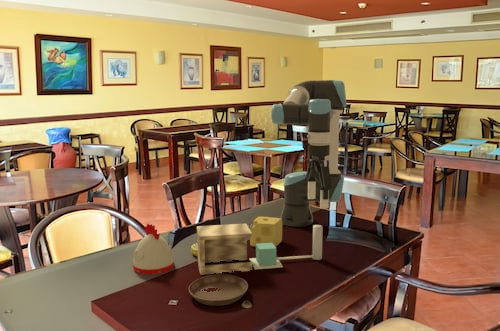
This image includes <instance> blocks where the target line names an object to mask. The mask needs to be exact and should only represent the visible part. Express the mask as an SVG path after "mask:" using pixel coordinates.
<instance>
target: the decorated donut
mask: <svg viewBox="0 0 500 331" xmlns="http://www.w3.org/2000/svg"><path fill="white" fill-rule="evenodd" d="M190 252H191V253H192V255H193V256H195V257H197V258H198V253H197V242H196V243H193V244H192V245H191V247H190Z"/></svg>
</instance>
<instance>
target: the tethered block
mask: <svg viewBox="0 0 500 331" xmlns="http://www.w3.org/2000/svg"><path fill="white" fill-rule="evenodd" d="M323 229H324V228H323V225H321V224H313V225H312V254H311V255H310V254H309V255H308V254H307V255H297V256H295V255H293V256H284V257H281V256H280V257H277V246H276V247H275V246H274V244H273V243H260V244H256V246H255V258H256V261H257V262H258V264H259V266H266V265H276V260H279V261H282V260H294V259H295V260H297V259H308V258H311V259H312V260H315V261H321V260H322V259H323ZM276 257H277V258H276Z"/></svg>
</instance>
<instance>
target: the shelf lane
mask: <svg viewBox="0 0 500 331" xmlns="http://www.w3.org/2000/svg"><path fill="white" fill-rule="evenodd" d="M210 225H211V226H210ZM210 225H199V226H196V241H197V242H196V243H197V253H198V257H197V265H198V270H199V274H200V275H201V276H202V275H203V276H204V275H215V274H214V273H216V274H223V273H222V272H229V273H235V272H234V271H241V272H251V271H250V270H252V271H253V265H252V262H251V261H247V260H248V240H247V239H248V238H251V237H252V232H251V228H249V226H248V224H247V223H231V224H230V223H229V224H215V225H214V224H210ZM232 260H239V261H242V262H233V261H232ZM220 261H226V262H233V263H221V262H220ZM243 261H245V262H243ZM211 262H213V263H217V264H210V263H211ZM218 263H219V264H218ZM220 263H221V264H220ZM232 271H233V272H232Z"/></svg>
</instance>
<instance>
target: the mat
mask: <svg viewBox="0 0 500 331" xmlns="http://www.w3.org/2000/svg"><path fill="white" fill-rule="evenodd" d="M276 258H278V256H276ZM248 259H249V262H252V268H253V269H254V270H265V269H266V270H267V269H276V268H284V266H283V264H282V263H281V261H280V260H276V265H266V266H259V264H258V262H257V261H256V257H252V258H248Z"/></svg>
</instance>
